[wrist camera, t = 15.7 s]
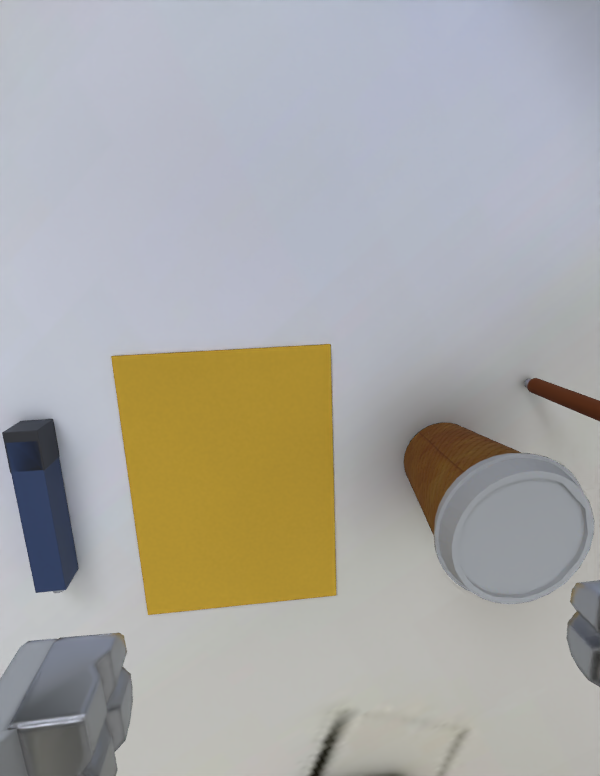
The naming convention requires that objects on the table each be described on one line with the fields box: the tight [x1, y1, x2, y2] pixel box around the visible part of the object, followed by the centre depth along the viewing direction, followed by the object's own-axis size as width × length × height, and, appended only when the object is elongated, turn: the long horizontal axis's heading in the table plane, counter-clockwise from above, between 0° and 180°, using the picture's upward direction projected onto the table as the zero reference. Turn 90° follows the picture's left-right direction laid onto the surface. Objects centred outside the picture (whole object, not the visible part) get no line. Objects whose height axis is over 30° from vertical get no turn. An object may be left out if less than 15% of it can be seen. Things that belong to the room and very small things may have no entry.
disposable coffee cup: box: [404, 423, 594, 604], centre depth 32 cm, size 10×10×12 cm
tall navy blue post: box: [2, 419, 78, 593], centre depth 34 cm, size 14×2×3 cm, turn 2°
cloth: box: [111, 344, 336, 615], centre depth 36 cm, size 22×16×1 cm
